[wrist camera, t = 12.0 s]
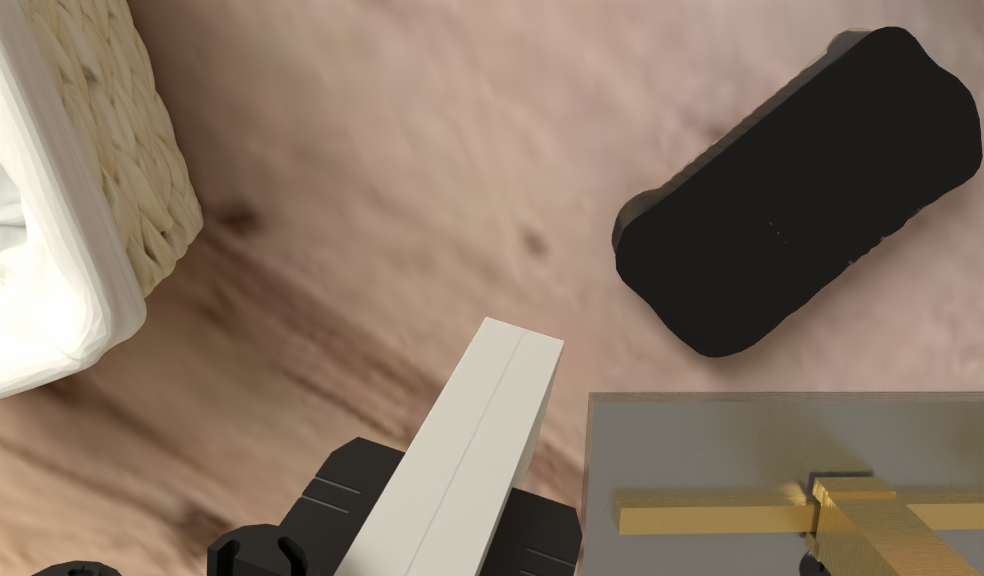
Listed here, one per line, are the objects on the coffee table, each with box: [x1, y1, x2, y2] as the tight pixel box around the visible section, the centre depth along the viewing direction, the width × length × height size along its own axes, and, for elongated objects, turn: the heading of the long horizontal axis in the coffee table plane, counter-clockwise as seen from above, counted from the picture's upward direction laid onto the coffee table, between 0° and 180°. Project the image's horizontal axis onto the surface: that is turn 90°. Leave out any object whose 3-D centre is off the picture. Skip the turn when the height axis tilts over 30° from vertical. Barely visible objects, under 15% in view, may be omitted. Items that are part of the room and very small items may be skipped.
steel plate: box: [577, 392, 984, 576], centre depth 44 cm, size 12×30×1 cm, turn 88°
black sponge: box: [612, 27, 983, 358], centre depth 38 cm, size 16×8×4 cm, turn 129°
